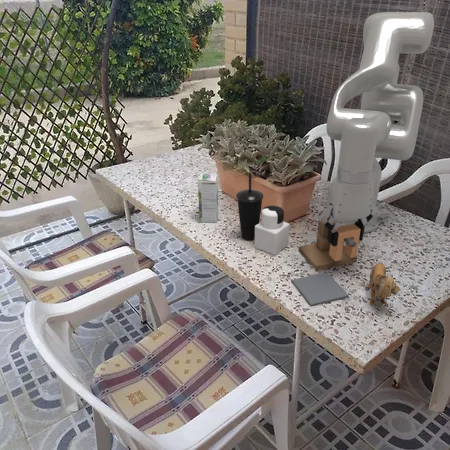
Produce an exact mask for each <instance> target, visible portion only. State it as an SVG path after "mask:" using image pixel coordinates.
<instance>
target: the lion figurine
mask: <svg viewBox="0 0 450 450" xmlns="http://www.w3.org/2000/svg"><path fill="white" fill-rule="evenodd" d="M366 288H367V289H370V290H371V292H370V295H371V296H370V301H369V304H370V305H371V306H375V304H376V297H377V298H378V299H379V302H380V305H383V306H384V305H387V301H386V300H385V299H387V298H390V297H391V295H394V296H396V295H397V294H399V292H400V291H401V288H400V287H399V286H398V285H397V282H395V279H394V277H392V276H389V275H387V267H386V265H384V264H383V263H381V262H380V263H376V264H374V266H373V267H372V269H371V272H370V279H369V282H368V284H367V285H366Z"/></svg>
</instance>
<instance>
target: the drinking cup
mask: <svg viewBox="0 0 450 450" xmlns="http://www.w3.org/2000/svg"><path fill="white" fill-rule="evenodd" d="M235 198H236V199H237V206H238V207H237V208H238V218H239V228H240V237H241V239H242V240H244V241H247V242H250V241H251V242H252V241H255V226H256V225H257V224H259V223H260V222H261V221H260V219H261V214H262V205H263V199H264V194H263V192H261V191H260V190H257V189H252V173H248V189H242V190H240V191H238V192H236V196H235Z"/></svg>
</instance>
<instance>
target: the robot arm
mask: <svg viewBox="0 0 450 450" xmlns="http://www.w3.org/2000/svg"><path fill="white" fill-rule="evenodd" d="M434 27H435V19H434V16H433V14H432V13H431V12H428V11H421V12H420V11H407V12H406V11H383V12H377V13H373V14H371V15H369V16H368V17H367V18H366V19H365V21H364V25H363V29H362V30H363V33H362V35H363V36H362V37H363V38H362V39H363V51H362V52H363V53H362V56H361V61H360V64H359V69H358V70H357V71H355V72H353V74H351V75H350V76H349V77H348V78H346V79H345V81H343V82H342V83H341V84H340V85H339V87H338V88H337V89H336V90H335V93H334V95H333V98H332V100H331V104H330V108H329V112H328V115H327V119H326V120H327V121H326V127H325V128H326V129H325V130H326V134H327V136H328V137H329V138H330V139H331V140H333V141H339V142H340V145H339V146H340V148H339V157H338V164H337V173H336V177H334V178H333V179H332V182H331V184H330V187H329V189H328V195H327V199H326V205H325V206H326V207H325V210H323V213H322V212H321V213H322V214H321V215H320V216H319V215H318V217H317V219H318V221H319V220H320V221H321V222H322V223H323V224H324V225H325V226H326V227H327V228H328V235H327V240H328V242H329V243H330V244H331V245H332V246H336V245H337V238H338V232H337V231H336V230H337V229H338V227H339V226H344V225H349V224H355V225H356V226H357V227H358V228H360V229H361V231H360V237H359V242H362V241H363V239H364V236H365V235H364V234H367V233H372V232H373V231H375V230H377V229H378V226H379V220H378V218H379V217H382V216H387V215H388V213H389V211H388V209H387V208H383V209H380V208H379V206H377V204H378V203H377V202H378V197H379V191H380V186H381V179H382V175H383V174H382V168H381V165H380V163H379V161H378V159H387V160H395V161H406V160H410V158H411V157H412V156H413V154H414V150H415V148H416V143H417V139H418V138H417V137H418V133H419V132H418V131H419V127H420V123H421V116H422V110H423V105H424V92H423V90H422V88H421V87H419V86H417V85H414V84H403V83H402V84H400V83H398V80H399V75H400V69H401V68H400V65H399V59H400V54H409V55H410V54H411V55H416V54H417V55H419V54H424V53H425V52H426V51H427V50H428V48H429V46H430V44H431V41H432V38H433V33H434V29H435V28H434ZM359 95H361V102H360V109H359V108H358V109H357V108H347V107H345V105H346V104H347V103H348V102H349V101H350V100H351V99H354V98H355V97H357V96H359ZM392 121H398V122H400V124H399V123H392ZM329 216H331V217H330V219H329V221H327V218H328V217H329ZM334 222H335V223H334ZM333 223H334V225H333ZM332 225H333V226H332Z"/></svg>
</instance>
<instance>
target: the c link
mask: <svg viewBox="0 0 450 450" xmlns="http://www.w3.org/2000/svg"><path fill="white" fill-rule="evenodd" d="M336 231H337V232H338V238H337V245H336V246H332V245H331V244H330V252H329V255H330V256H331V257H332V258H333V259H334V260H335V261H339V260H341V257H342V250H343V245H344V246H345V250H344V252H345V253H346V254H347V255H348V256H349V257H350V258H352V257H357V254H358V248H359V242H360V241H359V237H360V231H361V229H360V228H358V227H357V226H356V225H355V224H349V225H344V226H339V227H338V229H337V230H336ZM346 238H351V239H352V240H354V241H355V242H356V246H355V247H353V248H352V247H350V246H349V245H348V244H347V243H346V242H345V241H344V239H346ZM344 243H345V244H344Z"/></svg>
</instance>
